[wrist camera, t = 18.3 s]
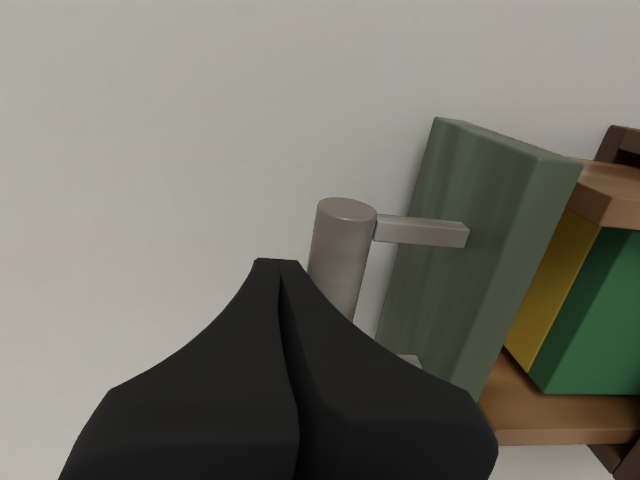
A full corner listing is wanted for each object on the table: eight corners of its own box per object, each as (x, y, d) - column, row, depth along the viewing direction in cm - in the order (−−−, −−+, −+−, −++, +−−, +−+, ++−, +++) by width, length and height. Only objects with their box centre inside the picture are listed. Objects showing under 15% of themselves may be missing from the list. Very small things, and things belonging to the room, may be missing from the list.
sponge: (491, 331, 17) (543, 395, 14) (551, 191, 14) (633, 230, 11) (579, 334, 18) (646, 395, 14) (652, 202, 15) (755, 242, 12)
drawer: (279, 344, 17) (285, 472, 12) (312, 97, 13) (345, 131, 7) (599, 353, 20) (715, 458, 15) (716, 158, 16) (937, 211, 10)
